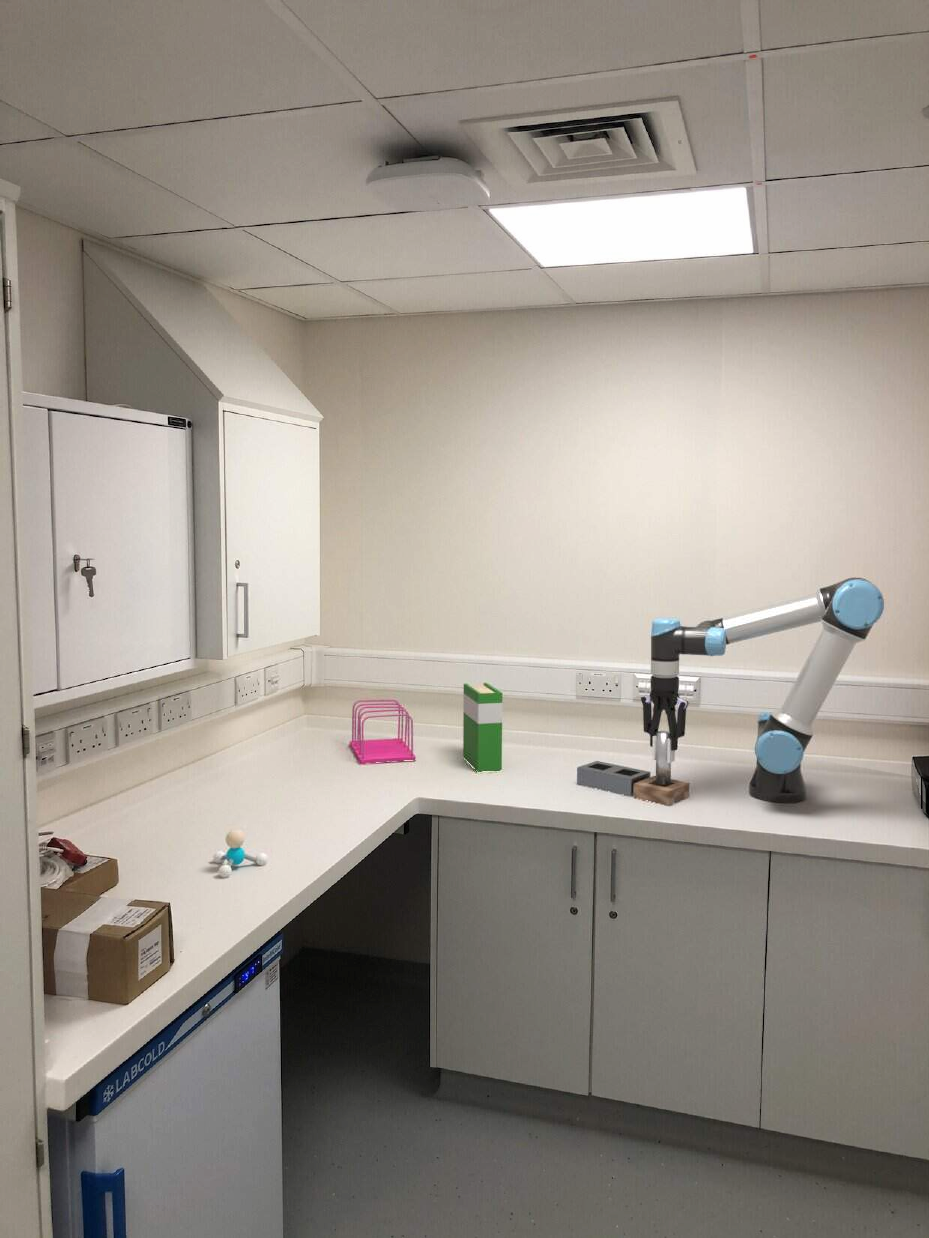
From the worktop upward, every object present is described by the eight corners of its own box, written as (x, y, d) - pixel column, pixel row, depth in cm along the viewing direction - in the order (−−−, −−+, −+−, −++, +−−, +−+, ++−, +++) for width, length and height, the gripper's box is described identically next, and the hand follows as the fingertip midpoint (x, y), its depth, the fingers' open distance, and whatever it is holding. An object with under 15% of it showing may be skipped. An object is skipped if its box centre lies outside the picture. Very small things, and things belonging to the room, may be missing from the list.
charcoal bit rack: (649, 789, 274) (650, 771, 274) (631, 796, 267) (631, 779, 266) (596, 777, 286) (596, 760, 286) (576, 784, 279) (577, 767, 278)
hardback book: (463, 758, 307) (463, 683, 304) (485, 757, 309) (486, 682, 306) (477, 773, 290) (478, 693, 287) (501, 771, 292) (502, 692, 289)
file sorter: (401, 743, 327) (401, 697, 326) (415, 761, 303) (415, 712, 302) (349, 746, 323) (349, 699, 321) (360, 765, 299) (360, 714, 297)
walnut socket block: (689, 797, 267) (689, 782, 266) (668, 806, 259) (669, 791, 258) (654, 789, 274) (654, 775, 274) (633, 797, 266) (633, 783, 265)
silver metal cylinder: (673, 782, 266) (674, 732, 264) (665, 785, 263) (666, 734, 261) (660, 779, 268) (661, 730, 267) (652, 782, 265) (653, 732, 264)
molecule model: (236, 883, 204) (235, 842, 203) (191, 873, 209) (190, 834, 208) (270, 864, 215) (270, 826, 214) (227, 855, 220) (227, 818, 219)
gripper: (700, 677, 260) (698, 762, 262) (644, 670, 271) (643, 752, 273) (686, 680, 254) (684, 768, 257) (630, 674, 265) (629, 758, 268)
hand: (663, 760), depth 265 cm, fingers closed on silver metal cylinder, 4 cm apart
